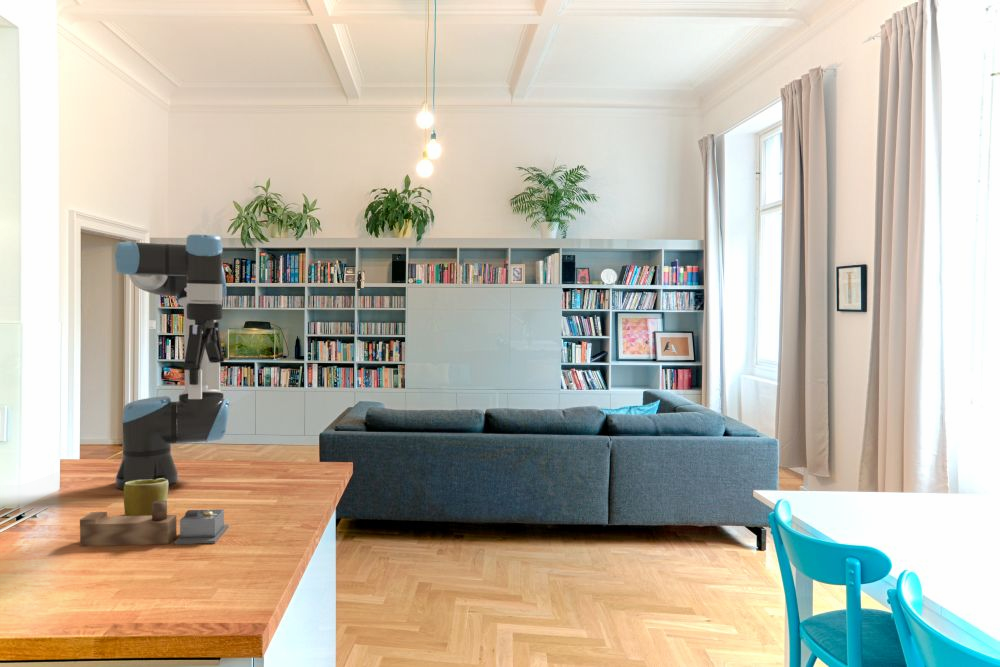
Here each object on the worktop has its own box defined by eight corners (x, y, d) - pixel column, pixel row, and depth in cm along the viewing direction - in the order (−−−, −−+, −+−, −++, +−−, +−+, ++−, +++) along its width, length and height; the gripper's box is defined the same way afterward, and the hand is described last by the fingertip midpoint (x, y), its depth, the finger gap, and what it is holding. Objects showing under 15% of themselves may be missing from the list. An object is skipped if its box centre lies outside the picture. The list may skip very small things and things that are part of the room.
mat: (190, 528, 148) (190, 525, 148) (228, 527, 149) (228, 524, 149) (174, 544, 138) (174, 541, 138) (214, 543, 139) (214, 540, 139)
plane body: (80, 546, 137) (79, 507, 136) (92, 537, 142) (91, 500, 141) (167, 543, 139) (167, 505, 138) (176, 535, 144) (176, 498, 143)
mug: (151, 516, 150) (146, 472, 152) (114, 527, 152) (109, 483, 154) (190, 511, 162) (184, 470, 164) (154, 521, 164) (149, 480, 166)
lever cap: (180, 538, 140) (179, 516, 140) (190, 528, 147) (190, 507, 146) (214, 537, 141) (214, 515, 141) (223, 527, 147) (223, 506, 147)
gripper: (204, 300, 166) (205, 385, 167) (167, 303, 141) (167, 403, 143) (236, 301, 167) (236, 385, 168) (204, 304, 142) (204, 403, 143)
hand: (204, 394), depth 155 cm, fingers open, 13 cm apart
